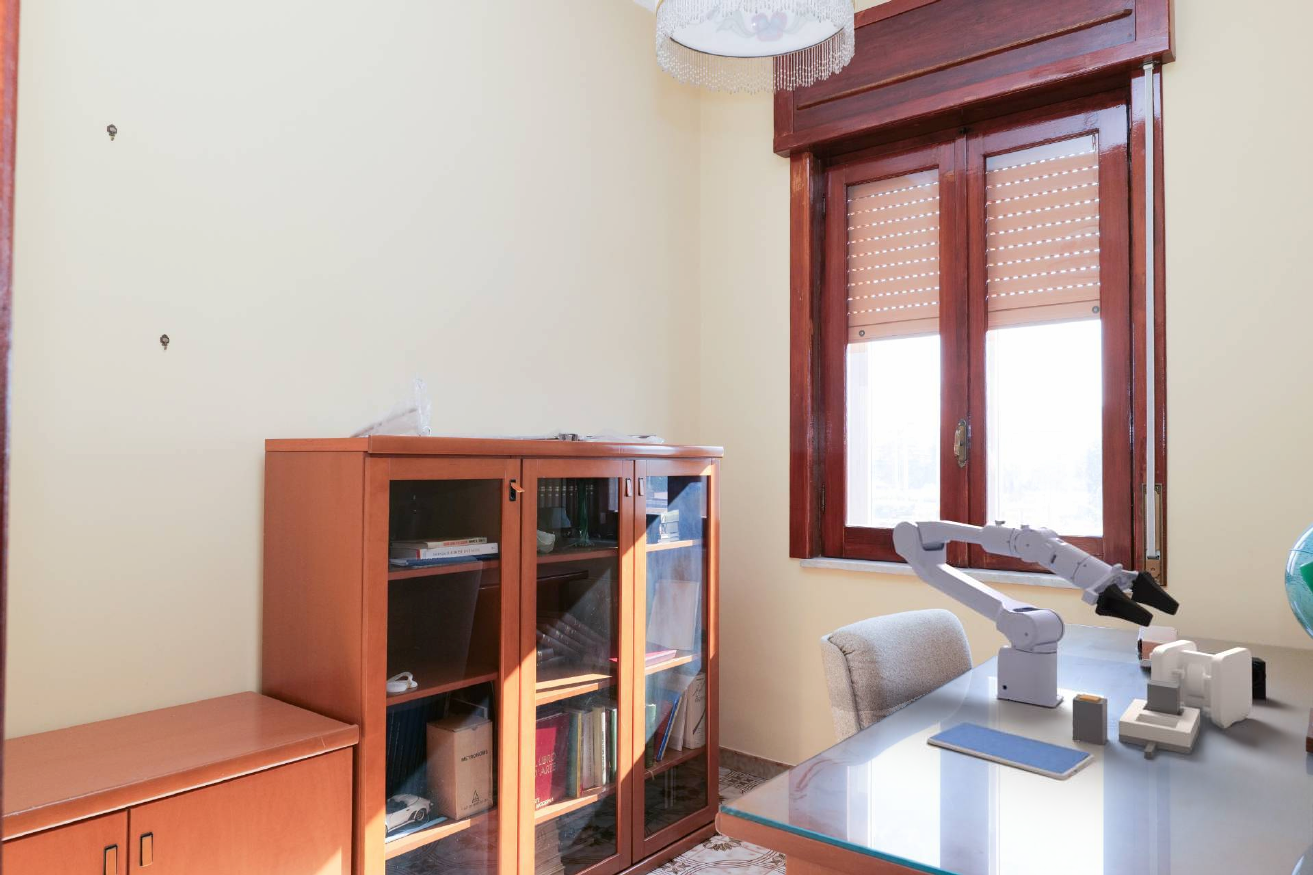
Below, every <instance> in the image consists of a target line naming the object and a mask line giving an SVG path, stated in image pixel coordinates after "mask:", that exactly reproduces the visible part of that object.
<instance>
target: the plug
mask: <svg viewBox="0 0 1313 875" xmlns="http://www.w3.org/2000/svg"><path fill="white" fill-rule="evenodd" d="M1072 740H1073V741H1077V740H1079V741H1078V742H1082V741H1083V743H1087V742H1088V744H1093V745H1098V746H1103V745H1105V743H1106V742H1107V740H1108V698H1104V697H1101V696H1098V695H1092V694H1085V693H1084V694H1083V693H1082V694H1081V693H1080V694H1079V693H1078V694H1076V695H1075V697H1073V698H1072Z"/></svg>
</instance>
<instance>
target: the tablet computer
mask: <svg viewBox="0 0 1313 875" xmlns="http://www.w3.org/2000/svg"><path fill="white" fill-rule="evenodd" d="M926 742H927V743H929V744H931V745H934V746H936V747H937V746H938V747H941V748H945V749H948V750H951V751H957V752H960V753H963V754H966V755H970V756H974V757H978V758H981V759H984V760H988V761H992V762H996V763H999V764H1003V765H1006V766H1010V767H1013V768H1017V769H1020V770H1024V771H1029V772H1030V773H1031V772H1032V773H1035V774H1039V775H1042V776H1046V777H1048V778H1052V779H1056V780H1061V781H1062V780H1063V781H1064V780H1067V779H1069V778H1070V777H1071V776H1073V775H1074V774H1076V773H1077V772H1079V771H1080V770H1083V769H1084V768H1085V767H1086V766H1088V765H1090V764H1091V763H1093V762H1094V761H1095V756H1094V755H1093V754H1092V753H1089V752H1086V751H1082V750H1078V749H1073V748H1071V747H1070V748H1069V747H1066V746H1061V745H1057V744H1054V743H1049V742H1045V741H1041V740H1037V739H1032V738H1029V737H1024V736H1021V735H1017V734H1013V733H1010V732H1009V733H1008V732H1005V731H1001V730H997V729H992V728H989V727H985V726H981V725H978V724H974V723H970V722H961V723H959V724H956V725H954V726H952V727H950V728H948V729H946V730H943V731H941V732H938V733H935V734H934V735H931V736H929V737H927V739H926Z"/></svg>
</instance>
